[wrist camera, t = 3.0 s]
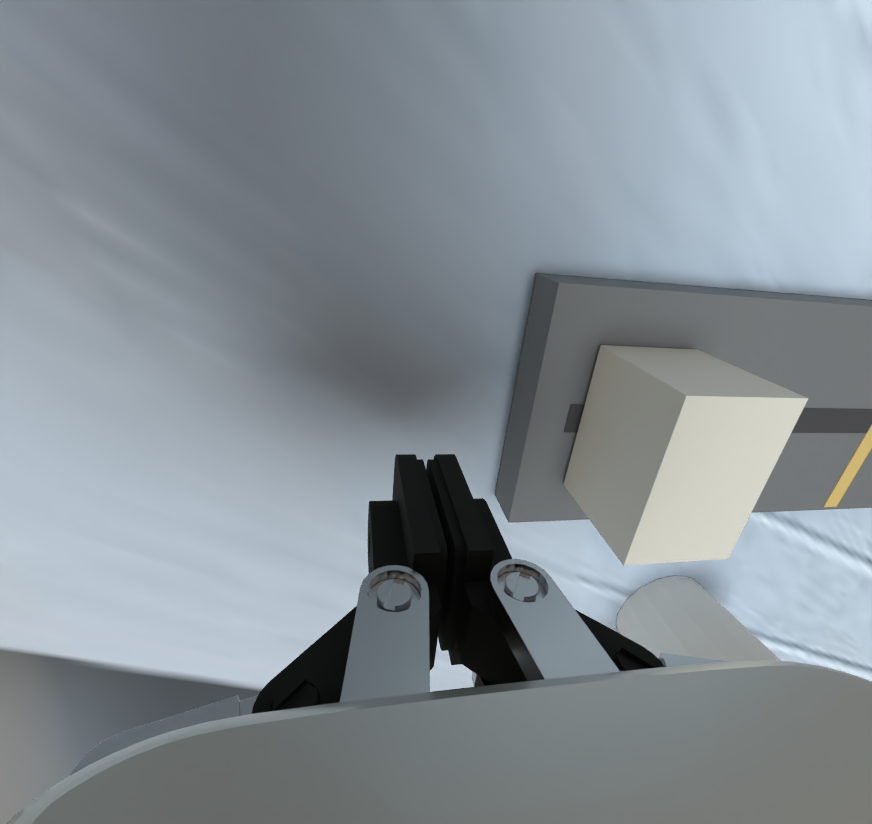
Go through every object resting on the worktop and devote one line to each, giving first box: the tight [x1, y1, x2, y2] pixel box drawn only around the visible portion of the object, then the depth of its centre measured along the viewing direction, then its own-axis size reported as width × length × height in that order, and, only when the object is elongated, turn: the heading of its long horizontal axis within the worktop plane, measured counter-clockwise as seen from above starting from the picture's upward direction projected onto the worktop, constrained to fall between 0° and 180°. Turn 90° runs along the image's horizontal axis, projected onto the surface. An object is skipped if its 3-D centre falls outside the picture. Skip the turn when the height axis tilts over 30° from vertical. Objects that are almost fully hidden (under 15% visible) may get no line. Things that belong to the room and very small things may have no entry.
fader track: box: [495, 273, 872, 522], centre depth 20 cm, size 28×10×2 cm, turn 84°
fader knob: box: [564, 345, 809, 566], centre depth 15 cm, size 4×6×4 cm, turn 174°
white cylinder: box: [616, 576, 781, 661], centre depth 24 cm, size 7×7×7 cm
